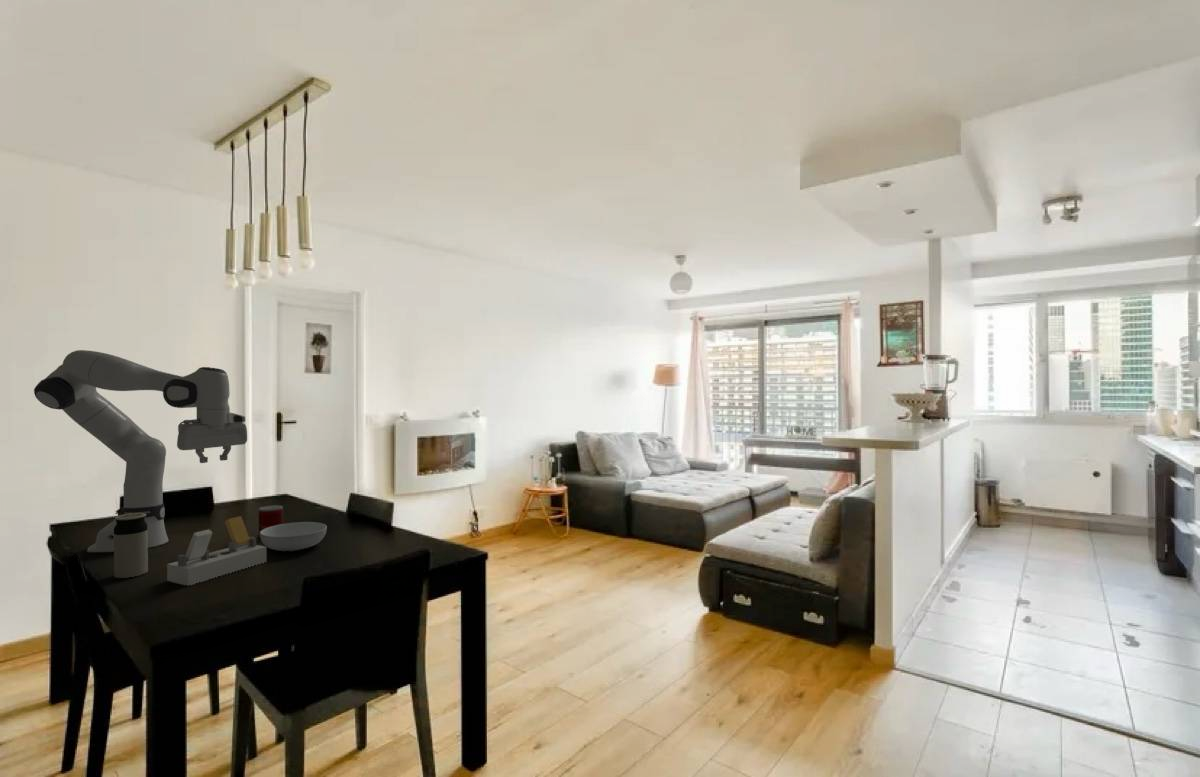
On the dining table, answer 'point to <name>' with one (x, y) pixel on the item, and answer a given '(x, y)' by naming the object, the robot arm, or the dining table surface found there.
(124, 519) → the travel mug
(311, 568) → the dining table surface
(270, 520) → the canned food
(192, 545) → the white paddle
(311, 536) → the serving bowl
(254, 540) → the long paddle holder base
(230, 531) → the amber paddle
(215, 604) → the dining table surface
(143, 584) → the dining table surface
